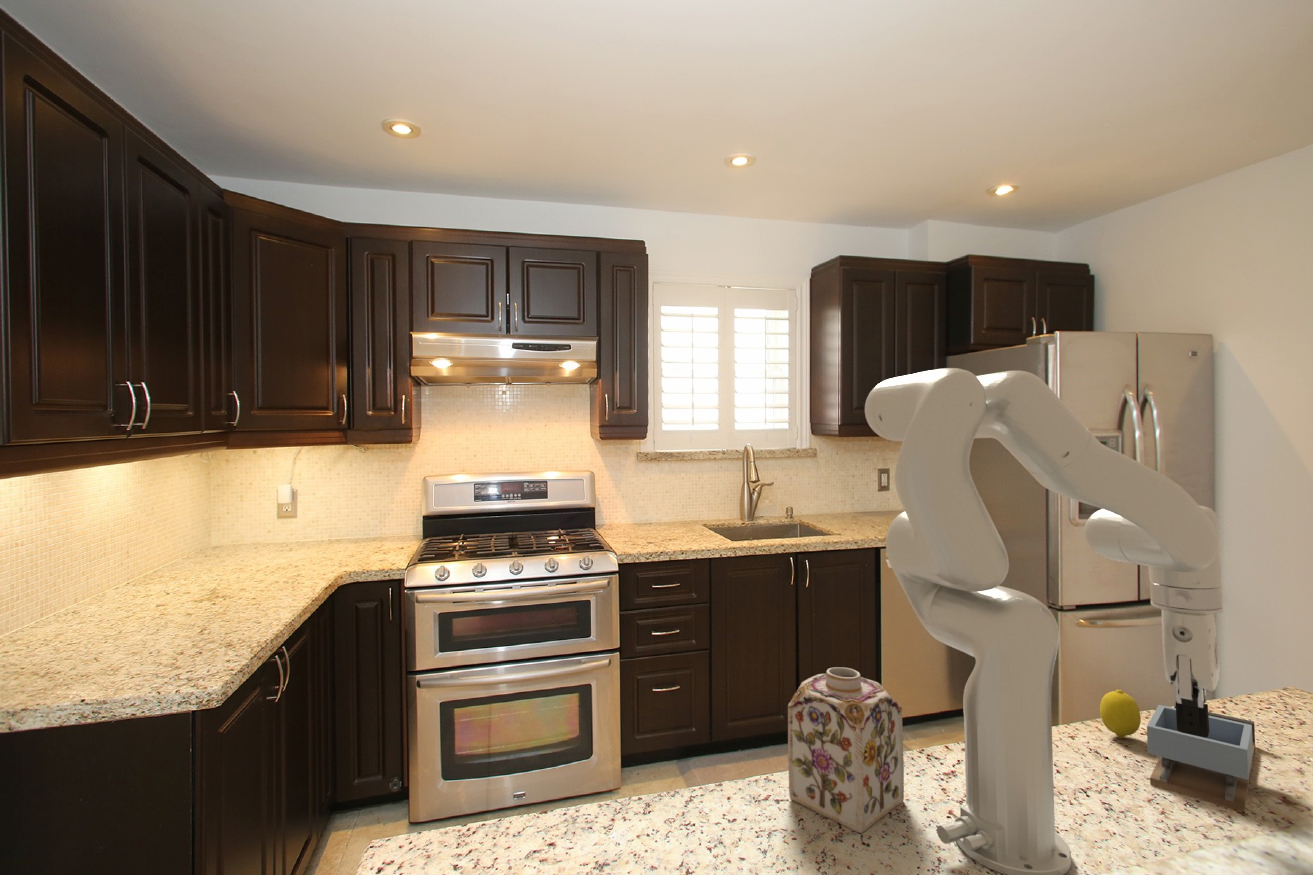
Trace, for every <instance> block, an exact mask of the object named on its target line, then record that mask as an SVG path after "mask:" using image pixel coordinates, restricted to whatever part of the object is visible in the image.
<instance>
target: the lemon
mask: <svg viewBox="0 0 1313 875" xmlns="http://www.w3.org/2000/svg"><path fill="white" fill-rule="evenodd" d="M1099 714H1100V715H1099V716H1100V718H1101V721H1102V723H1103V725H1104V726H1105V727H1106V728H1107V730H1109V731H1110V732H1111V733H1114V734H1115V735H1116V736H1117V738H1119V739H1123V738H1125V737H1126V736H1132V735H1134V734H1135V733H1136V732H1137V731H1139V729H1140V726H1141V720H1142V718H1141V712H1140V708H1139V705H1138V703H1137V702H1136V700H1135V699H1134V698H1133V697H1132V696H1131V695H1129V694H1127V693H1126V692H1124V691H1123V690H1121V689H1116V690H1112V691H1109V692H1107V693H1105V694H1104V695H1103V697H1102V698H1101V701H1100V705H1099Z"/></svg>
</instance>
